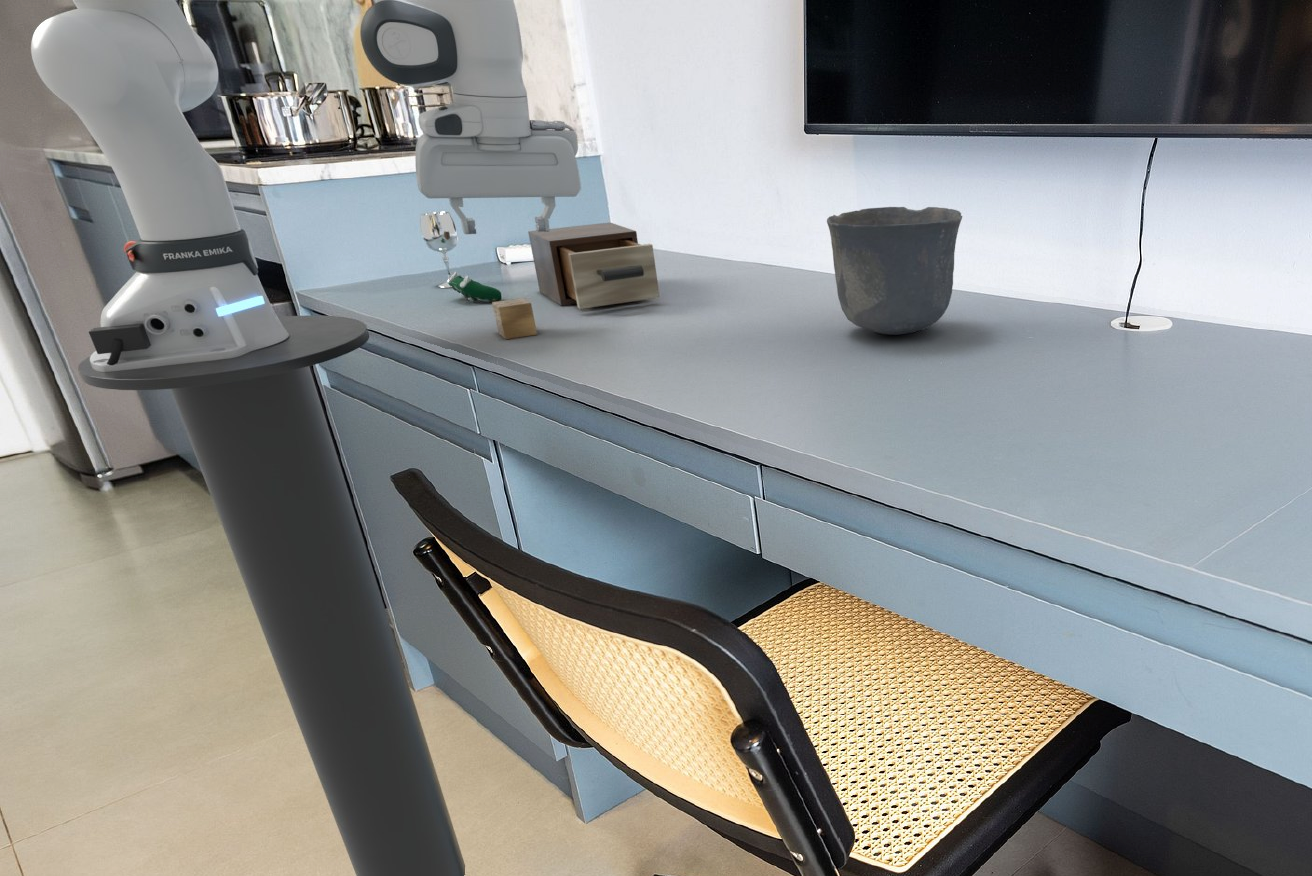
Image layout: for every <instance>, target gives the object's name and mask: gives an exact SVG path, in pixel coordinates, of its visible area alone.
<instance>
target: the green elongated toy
mask: <svg viewBox="0 0 1312 876" xmlns="http://www.w3.org/2000/svg"><path fill="white" fill-rule="evenodd" d="M448 282H449V283H448V284H449V285H450V286H451V289H452V290H453V291H456V292H457V293H458V294H461V298H463V299H464V300H466V301H467V300H468V301H470V302H471V303H475V302H477V301H478V300H479V301H486V302H487V301H489V302H498V301H502V299H503V298H502V292H501V291H500V290H499V289H497V288H495V287H492V286H489V285H485V284H482V283H480V282H478V281H475V280H473V279H472V278H471V277H470V276H469V275H468V274H467V275H466V276H465V277H462V275H460V274H459V273H458V271H454V273H452V274H451V277H450V279H449V281H448Z"/></svg>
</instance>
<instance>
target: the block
mask: <svg viewBox="0 0 1312 876" xmlns="http://www.w3.org/2000/svg"><path fill="white" fill-rule="evenodd" d="M491 305H492V309H493V313H494V314H493V315H494V319H495V323H496V327H497V332H498V334H499V335H500V336H501V337H502V338H503V339H504V340H511V339H517V338H518V339H519V338H524V337H530V336H535V335H538V331H537V325H536V320H535V316H534V311H533V307H532V303H531V302H530V301H529V300H528V299H526V298H525V297H519V298H513V299H512V298H511V299H506V300H500V301H491Z"/></svg>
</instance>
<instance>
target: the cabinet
mask: <svg viewBox="0 0 1312 876" xmlns="http://www.w3.org/2000/svg"><path fill="white" fill-rule="evenodd" d="M527 234H528V238H529V244H530V248H531V254H532V259H533V263H534V269H535V275H536V279H537V284H538V289H539V293H540V294H541V295H543V296H545V297H546V298H549V300H551V301H553V302H555V303H556V304H558V305H559V306H561V307H565V306H571V305H577V301H576V300H574V299H573V298H571V297H569V296H567V295H566V294H565V292H564V286H563V281H562V275H561V270H560V265H559V259H558V254H557V248H556V246H565V245H573V244H582V243H590V242H599V241H607V240H616V239H627V240H630V241H633V242H635V243H638V244H639V241H638V234H637V231H636V230H635V229H632V228H628V227H625V226H622V225H619V224H616V223H613V222H611V221H610V222H602V223H591V224H583V225H582V224H581V225H574V226H566V227H565V226H564V227H555V228H549V232H538V231H537V230H536V229H535V230H528V232H527Z"/></svg>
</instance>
